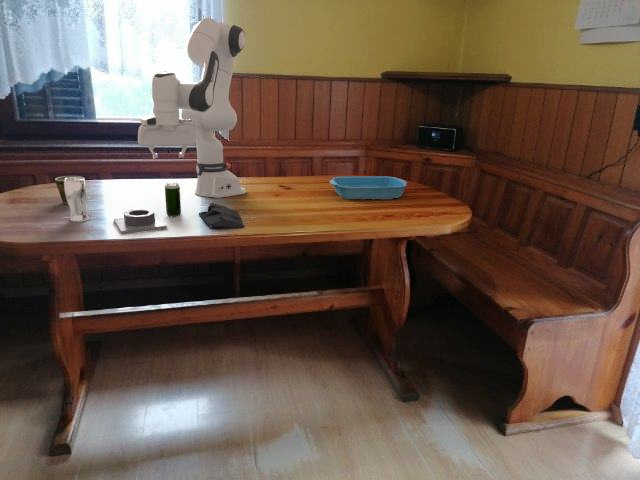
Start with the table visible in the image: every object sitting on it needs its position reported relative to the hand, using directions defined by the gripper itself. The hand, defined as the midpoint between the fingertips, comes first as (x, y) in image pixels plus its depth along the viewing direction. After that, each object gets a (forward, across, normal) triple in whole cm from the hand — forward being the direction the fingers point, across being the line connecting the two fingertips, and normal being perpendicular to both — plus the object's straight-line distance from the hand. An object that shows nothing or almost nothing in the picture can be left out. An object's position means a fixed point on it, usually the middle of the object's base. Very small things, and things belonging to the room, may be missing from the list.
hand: (168, 158), depth 178 cm
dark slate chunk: (+22, -15, +13) cm, 30 cm away
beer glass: (+22, +31, -6) cm, 39 cm away
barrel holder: (+22, +13, +9) cm, 27 cm away
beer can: (+22, -1, 0) cm, 22 cm away
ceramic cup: (+22, +33, -32) cm, 51 cm away
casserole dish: (+21, -91, 0) cm, 93 cm away
